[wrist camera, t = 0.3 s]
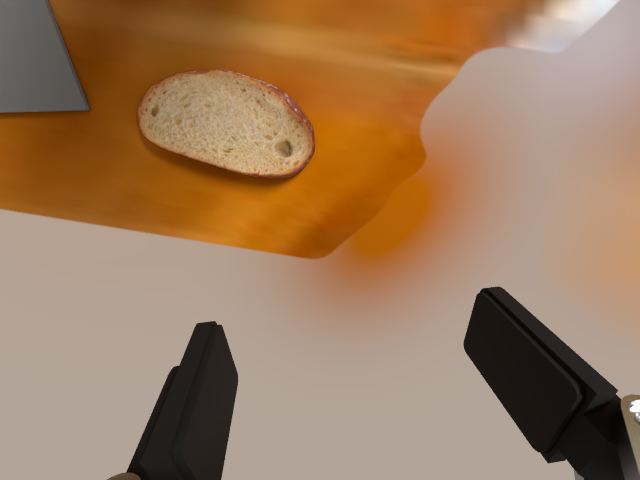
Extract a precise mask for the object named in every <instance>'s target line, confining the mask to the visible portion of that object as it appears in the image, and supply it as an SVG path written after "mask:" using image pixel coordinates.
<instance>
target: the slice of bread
mask: <svg viewBox="0 0 640 480" xmlns="http://www.w3.org/2000/svg"><path fill="white" fill-rule="evenodd" d="M137 123H138V125H139V128H140V131H141V133H142V134H143V135H144V136H145V137H146V138H147V139H148V140H149V141H150V142H152V143H154V144H156V145H158V146H159V147H161V148H163V149H166V150H168V151H170V152H172V153H175V154H179V155H182V156H185V157H187V158H192V159H195V160H197V161H201V162H204V163H207V164H210V165H213V166H216V167H219V168H223V169H226V170H229V171H232V172H236V173H241V174H244V175H249V176H254V177H266V178H288V177H292V176H294V175H295V174H297V173H299V172H300V171H301V170H302V169H303V168H304V167H305V166H306V165H307V164H308V162H309V161H310V159H311V158H312V156H313V154H314V150H315V143H314V131H313V127H312V125H311V123H310V122H309V120H308V118H307V117H306V115H305V114H304V113H303V111H302V110H301V109H300V107H299V106H298V104H297V103H296V102H295V101H294V100H293V98H292V97H291V96H289V95H288V94H286V93H284V92H283V91H281V90H279V89H278V88H276V87H275V86H274V85H272V84H269V83H266V82H264V81H262V80H259V79H256V78H253V77H250V76H248V75H243V74H240V73H237V72H233V71H229V70H224V69H217V70H212V71H210V70H198V71H188V72H183V73H178V74H173V75H171V76H169V77H167V78H165V79H163V80H161V81H159V82H158V83H156V84H154V85H153V86H151V87H150V88H149V89H148V90H147V92H146V93H145V95H144V96H143V98H142V100H141V102H140V104H139V107H138V109H137Z"/></svg>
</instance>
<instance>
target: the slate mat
mask: <svg viewBox="0 0 640 480" xmlns="http://www.w3.org/2000/svg"><path fill="white" fill-rule="evenodd" d="M78 110H90V108H89V106H88V103H87V100H86V98H85V95H84V93H83V90H82V87H81V85H80V82H79V80H78V77H77V74H76V72H75V69H74V66H73V64H72V61H71V59H70V56H69V53H68V51H67V48H66V46H65V43H64V40H63V38H62V35H61V32H60V30H59V27H58V25H57V22H56V19H55V17H54V14H53V12H52V9H51V6H50V4H49V1H48V0H0V113H6V112H42V111H78Z"/></svg>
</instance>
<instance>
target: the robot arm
mask: <svg viewBox="0 0 640 480" xmlns="http://www.w3.org/2000/svg"><path fill="white" fill-rule="evenodd" d="M464 349H465V351H466V353H467V355H468V356H469V357H470V359H471V360H472V362H473V363H474V365H475V366H476V367H477V369H478V370H479V372H480V373H481V375H482V376H483V377H484V379H485V380H486V382H487V383H488V385H489V386H490V387H491V389H492V390H493V392H494V393H495V394H496V396H497V398H498V399H499V400H500V402H501V403H502V404H503V406H504V408H505V409H506V410H507V412H508V413H509V415H510V416H511V417H512V419H513V420H514V422H515V423H516V425H517V426H518V427H519V429H520V430H521V432H522V433H523V435H524V436H525V437H526V439H527V440H528V442H529V443H530V445H531V446H532V447H533V448H534V449H535V450H536V451H537V452H540V453H541V454H542V456H543V457H544V458H545V460H546V461H547V463H553V462H558V461H565V460H566V459H567V461H568V462H569V463H570V464H571V466H572V467H573V468H574V475H575V480H640V395H628V396H624V397H623V399H622V400H621V399H620V398H619V397H618V396H617V395H616V393H617V391H618V390H617V389H616V388H615V387H614V386H613V385H611V384H610V383H609V382H608V381H607V380H606V379H605V378H603V377H602V376H601V375H600V374H599V373H598V372H597V371H596V370H594V369H593V368H592V367H591V366H590V365H589V364H588V363H587V362H585V361H584V360H583V359H582V358H581V357H580V356H578V354H576V353H575V352H574V351H573V350H572V349H571V348H570V347H569V346H567V345H566V344H565V343H564V342H563V341H561V340H560V339H559V338H558V337H557V336H556V335H555V334H554V333H553V332H552V331H550V330H549V329H548V328H547V327H546V326H545V325H544V324H543V323H541V322H540V321H539V320H538V319H537V318H536V317H535V316H533V315H532V314H531V313H530V312H529V311H528V310H527V309H526V308H525V307H523V306H522V305H521V304H520V303H519V302H518V301H517V300H516V299H514V298H513V297H512V296H511V295H510V294H509V293H508V292H506V291H505V290H504V289H503V288H501V287H491V288H484V289H482V290H481V291H480V293H479V294H477V296H476V300H475V303H474V307H473V311H472V314H471V318H470V321H469V325H468V329H467V332H466V336H465V339H464ZM237 386H238V374H237V370H236V367H235V364H234V361H233V358H232V355H231V352H230V349H229V346H228V343H227V339H226V337H225V333H224V330H223V327H222V325H217V323H216V322H215V321H213V322H205V323H198V324H197V325H196V326H195V329H194V331H193V334H192V336H191V339H190V341H189V343H188V346H187V349H186V351H185V353H184V356H183V358H182V361H181V363H180V366H176V367H173V368H172V370H171V371H170V373H169V375H168V377H167V379H166V382H165V384H164V386H163V388H162V391H161V393H160V395H159V398H158V400H157V402H156V405H155V407H154V409H153V412H152V414H151V416H150V419H149V421H148V423H147V426H146V428H145V431H144V433H143V435H142V438H141V440H140V442H139V444H138V447H137V449H136V452H135V454H134V456H133V458H132V461H131V463H130V465H129V468H128V470H127V472H126V473H121V474H118V475H115V476H113V477H111V478H109V479H108V480H221V477H222V471H223V466H224V460H225V454H226V449H227V442H228V437H229V431H230V426H231V419H232V414H233V409H234V403H235V396H236V391H237Z"/></svg>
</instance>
